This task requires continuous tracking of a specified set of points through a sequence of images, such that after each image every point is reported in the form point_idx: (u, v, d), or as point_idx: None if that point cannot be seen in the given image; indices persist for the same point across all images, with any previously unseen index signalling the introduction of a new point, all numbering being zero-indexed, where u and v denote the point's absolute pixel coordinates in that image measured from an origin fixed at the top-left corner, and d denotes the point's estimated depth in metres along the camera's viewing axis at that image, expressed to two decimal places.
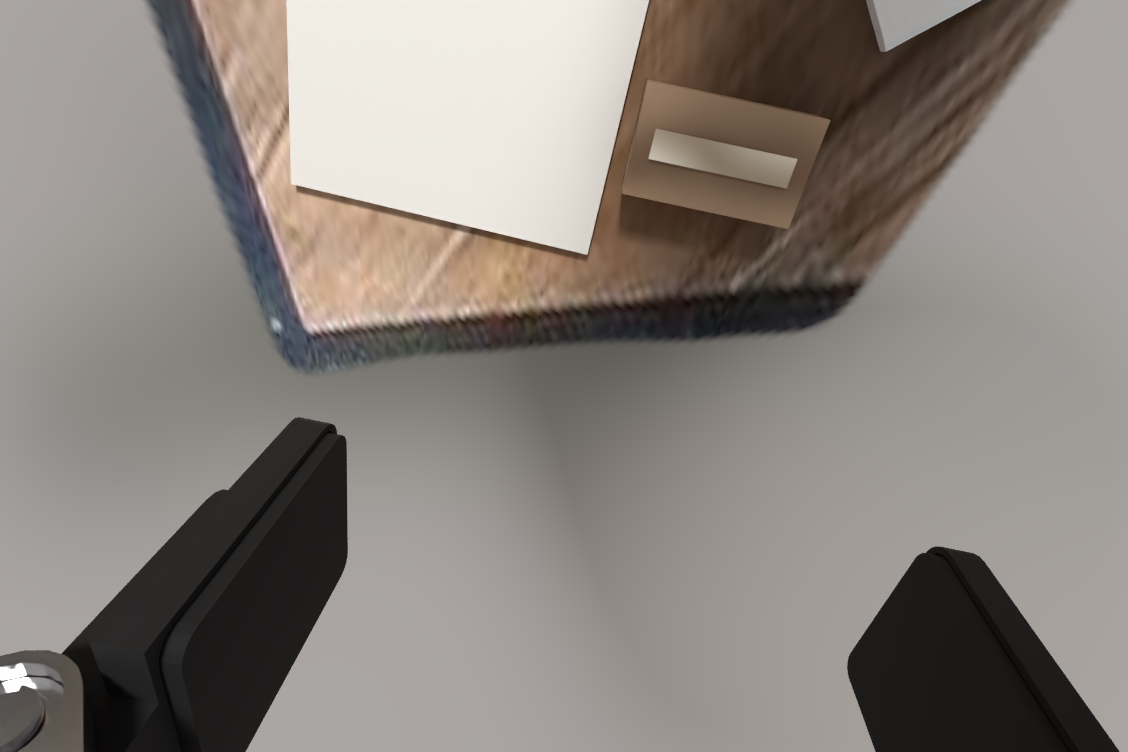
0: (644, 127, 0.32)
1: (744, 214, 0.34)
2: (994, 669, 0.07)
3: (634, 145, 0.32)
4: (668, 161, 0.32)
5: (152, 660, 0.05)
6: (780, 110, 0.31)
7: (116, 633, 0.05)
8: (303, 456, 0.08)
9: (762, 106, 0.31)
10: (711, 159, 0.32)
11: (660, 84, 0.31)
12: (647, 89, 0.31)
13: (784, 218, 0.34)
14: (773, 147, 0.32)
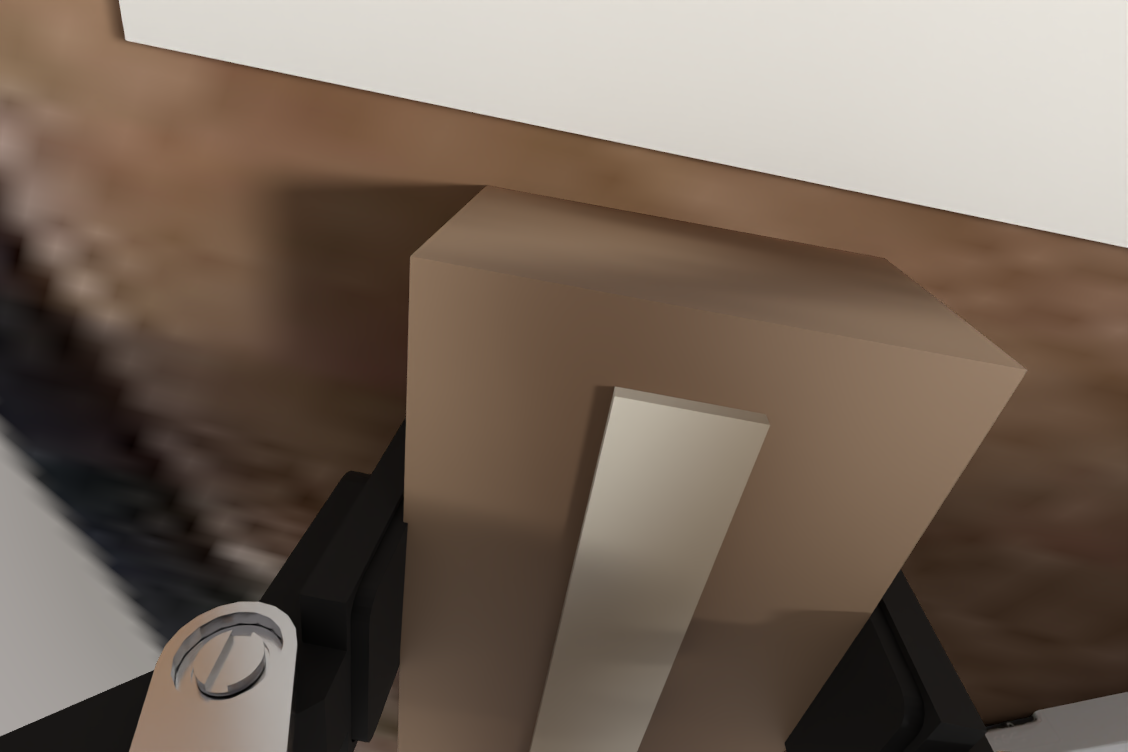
0: (777, 363, 0.06)
1: (417, 699, 0.09)
2: None
3: (685, 314, 0.06)
4: (602, 484, 0.06)
5: (348, 610, 0.06)
6: None
7: (318, 586, 0.06)
8: None
9: (791, 731, 0.09)
10: (611, 627, 0.08)
11: (984, 427, 0.06)
12: (980, 368, 0.06)
13: None
14: None
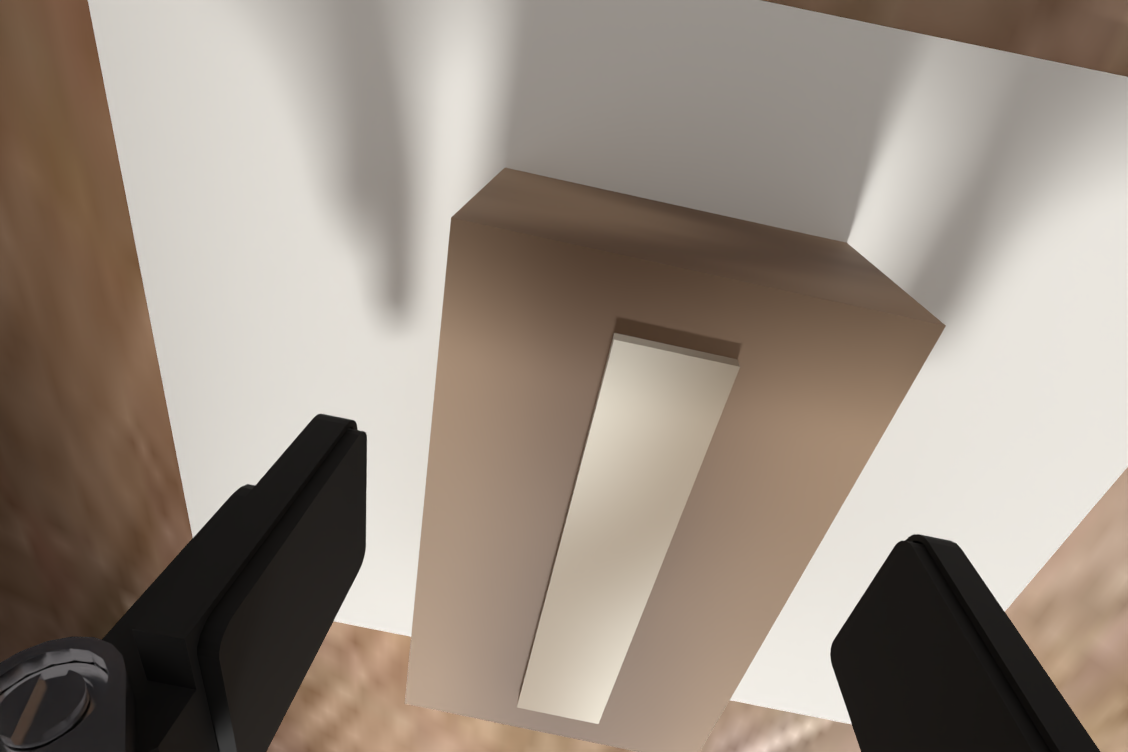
0: (747, 316, 0.07)
1: (429, 619, 0.10)
2: (966, 651, 0.07)
3: (674, 272, 0.07)
4: (600, 417, 0.08)
5: (191, 646, 0.06)
6: (735, 683, 0.10)
7: (156, 620, 0.05)
8: (327, 451, 0.08)
9: (754, 649, 0.10)
10: (603, 548, 0.09)
11: (913, 373, 0.07)
12: (909, 323, 0.07)
13: (433, 695, 0.11)
14: (632, 673, 0.11)
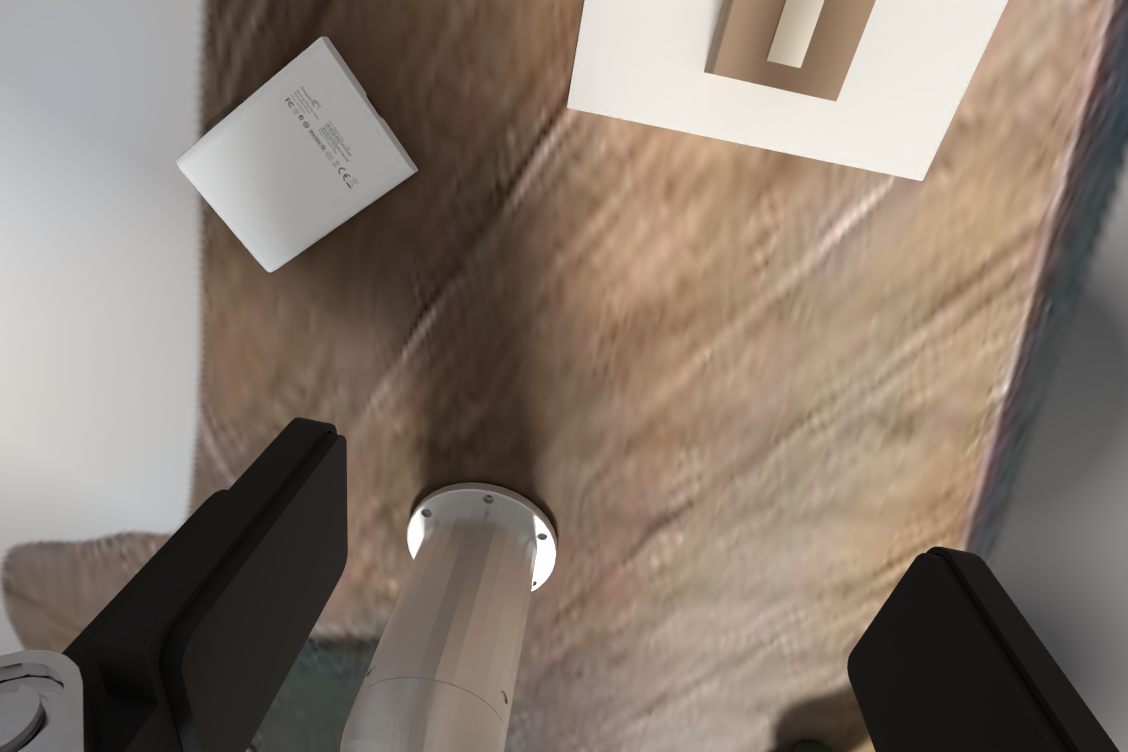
0: None
1: (738, 7, 0.26)
2: (994, 669, 0.07)
3: None
4: None
5: (151, 660, 0.05)
6: (860, 35, 0.26)
7: (116, 633, 0.05)
8: (303, 456, 0.08)
9: (870, 10, 0.25)
10: None
11: None
12: None
13: (727, 66, 0.27)
14: (818, 34, 0.26)
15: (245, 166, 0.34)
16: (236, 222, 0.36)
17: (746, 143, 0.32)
